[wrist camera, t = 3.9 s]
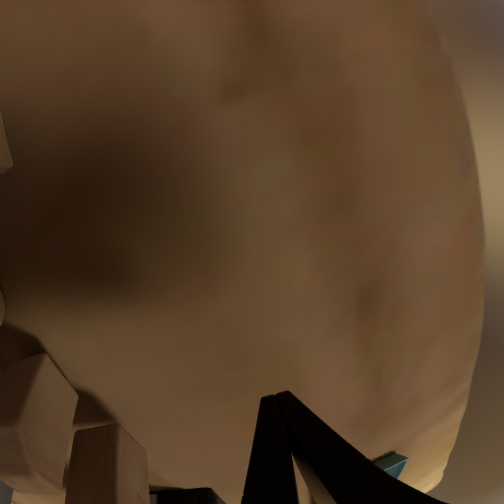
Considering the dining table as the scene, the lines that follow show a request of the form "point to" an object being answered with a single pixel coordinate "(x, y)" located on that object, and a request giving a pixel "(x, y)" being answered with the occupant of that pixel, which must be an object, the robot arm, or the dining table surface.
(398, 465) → the shallow long dish
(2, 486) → the board
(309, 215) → the dining table surface
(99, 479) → the wooden block set
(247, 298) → the dining table surface
